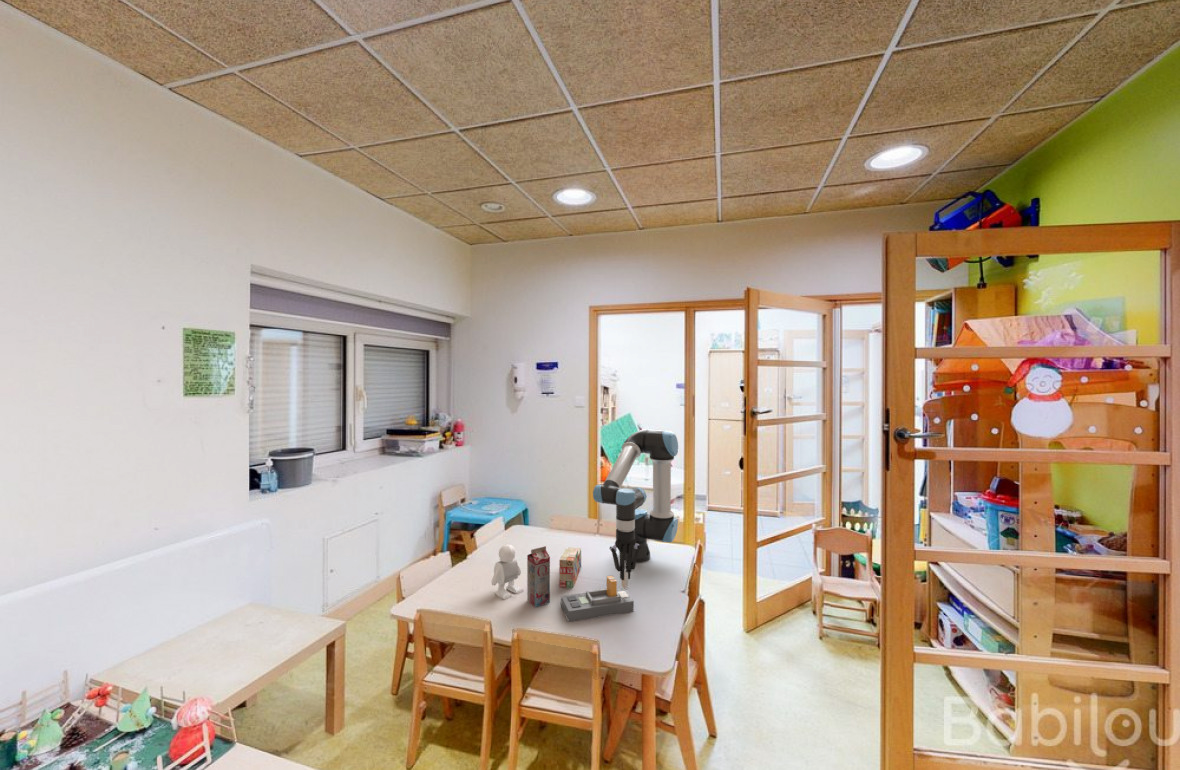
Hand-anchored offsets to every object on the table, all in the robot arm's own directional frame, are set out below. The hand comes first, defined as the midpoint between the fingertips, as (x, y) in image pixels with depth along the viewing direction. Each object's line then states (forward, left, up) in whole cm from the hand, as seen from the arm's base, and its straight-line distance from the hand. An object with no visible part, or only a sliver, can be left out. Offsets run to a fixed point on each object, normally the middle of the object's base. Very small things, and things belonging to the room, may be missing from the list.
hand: (625, 587), depth 182 cm
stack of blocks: (+14, -30, -7) cm, 34 cm away
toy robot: (+44, -24, -7) cm, 50 cm away
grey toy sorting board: (+12, 0, -7) cm, 14 cm away
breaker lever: (+6, 0, -3) cm, 6 cm away
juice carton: (+33, -12, -7) cm, 36 cm away
